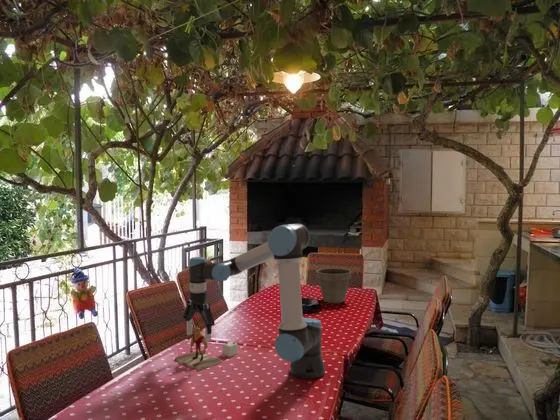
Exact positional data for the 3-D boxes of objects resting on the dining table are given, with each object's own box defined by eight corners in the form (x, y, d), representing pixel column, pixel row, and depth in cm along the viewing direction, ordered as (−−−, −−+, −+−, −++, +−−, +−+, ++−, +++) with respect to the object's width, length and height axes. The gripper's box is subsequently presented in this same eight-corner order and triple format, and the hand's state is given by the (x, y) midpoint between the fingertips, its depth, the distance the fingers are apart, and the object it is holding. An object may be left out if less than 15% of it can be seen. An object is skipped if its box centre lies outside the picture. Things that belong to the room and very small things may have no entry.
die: (237, 354, 212) (237, 342, 212) (229, 356, 209) (229, 345, 208) (230, 351, 216) (230, 340, 216) (222, 354, 212) (222, 342, 212)
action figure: (187, 358, 204) (186, 326, 203) (192, 355, 207) (191, 324, 206) (204, 362, 199) (203, 329, 198) (209, 359, 202) (208, 327, 201)
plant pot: (311, 298, 325) (311, 268, 324) (341, 295, 332) (342, 267, 331) (324, 306, 301) (324, 274, 300) (357, 304, 308) (357, 273, 307)
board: (221, 362, 202) (221, 359, 202) (198, 371, 192) (198, 368, 192) (197, 352, 214) (197, 350, 214) (174, 360, 204) (174, 357, 204)
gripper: (175, 288, 207) (175, 333, 208) (208, 296, 191) (209, 345, 191) (188, 286, 213) (188, 330, 214) (222, 293, 196) (222, 341, 197)
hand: (198, 337), depth 202 cm, fingers open, 13 cm apart
